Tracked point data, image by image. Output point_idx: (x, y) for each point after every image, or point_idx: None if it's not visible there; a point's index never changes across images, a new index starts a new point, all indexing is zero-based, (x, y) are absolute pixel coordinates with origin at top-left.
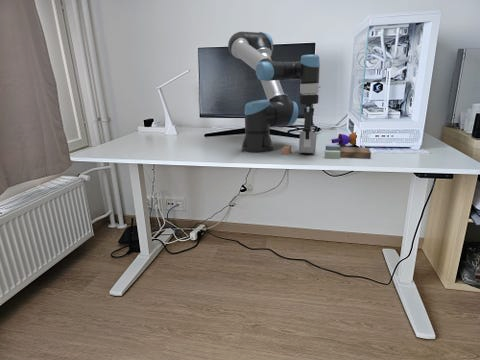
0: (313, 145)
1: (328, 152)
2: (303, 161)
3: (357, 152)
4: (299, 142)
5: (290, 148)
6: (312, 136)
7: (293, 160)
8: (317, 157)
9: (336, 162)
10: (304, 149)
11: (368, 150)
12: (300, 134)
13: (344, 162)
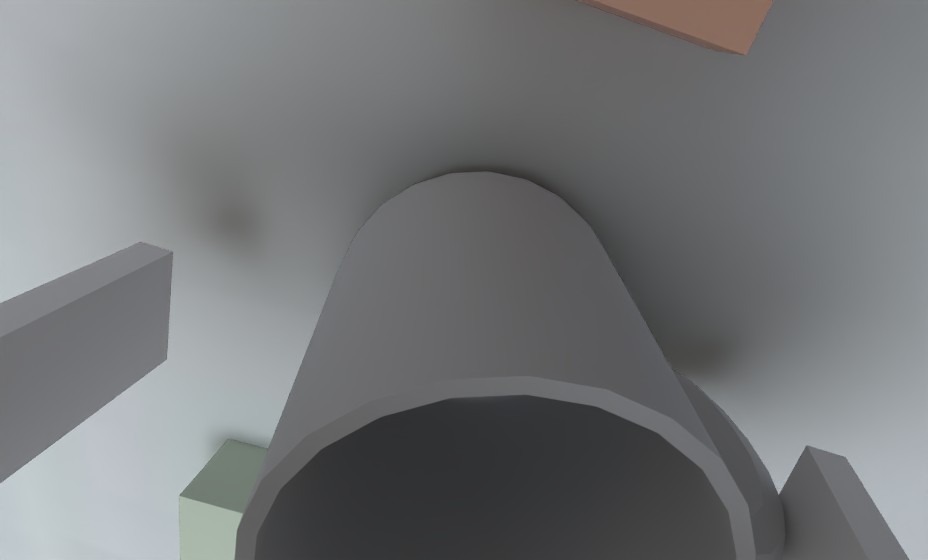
0: (353, 442)
1: (183, 520)
2: (33, 147)
3: None
4: (477, 230)
5: (639, 19)
6: (294, 553)
7: (60, 5)
8: (274, 373)
9: (64, 483)
10: (342, 262)
11: None
12: (439, 335)
13: (79, 545)
